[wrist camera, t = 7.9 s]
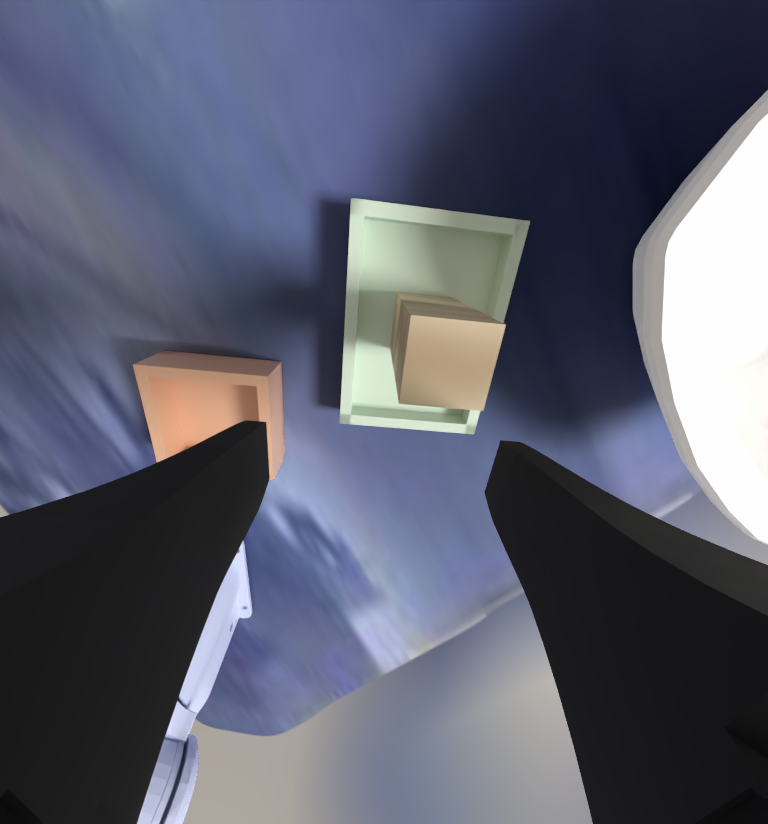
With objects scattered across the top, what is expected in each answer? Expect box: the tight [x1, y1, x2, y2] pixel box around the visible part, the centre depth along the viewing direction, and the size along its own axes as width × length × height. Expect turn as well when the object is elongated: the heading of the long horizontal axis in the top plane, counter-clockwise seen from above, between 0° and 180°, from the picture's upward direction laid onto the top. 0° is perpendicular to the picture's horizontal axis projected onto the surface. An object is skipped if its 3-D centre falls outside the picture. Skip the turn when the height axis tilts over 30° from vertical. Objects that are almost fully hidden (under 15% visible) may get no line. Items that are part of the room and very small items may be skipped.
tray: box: [340, 198, 530, 434], centre depth 17 cm, size 11×8×2 cm
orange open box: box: [133, 351, 285, 480], centre depth 19 cm, size 7×7×3 cm
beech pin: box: [390, 292, 506, 411], centre depth 14 cm, size 3×3×8 cm
